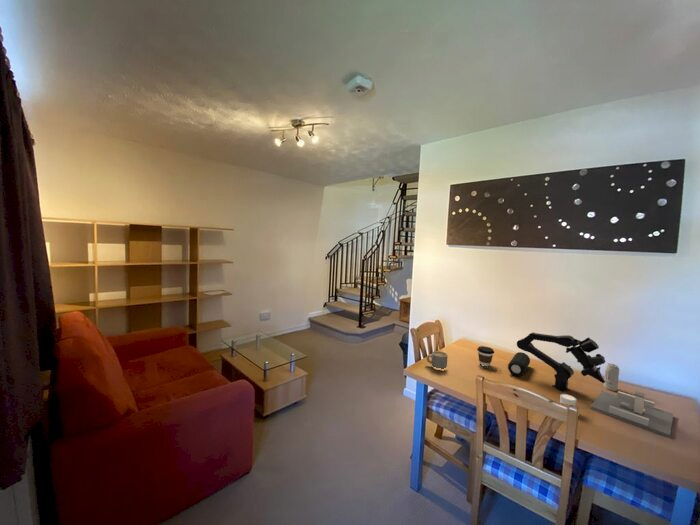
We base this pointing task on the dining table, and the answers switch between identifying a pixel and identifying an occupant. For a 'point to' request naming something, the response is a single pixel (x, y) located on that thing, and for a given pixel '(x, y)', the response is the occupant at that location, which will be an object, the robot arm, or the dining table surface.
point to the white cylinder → (568, 399)
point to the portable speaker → (519, 364)
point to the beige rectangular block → (639, 402)
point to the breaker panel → (624, 411)
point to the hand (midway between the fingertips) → (604, 382)
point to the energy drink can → (611, 377)
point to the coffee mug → (438, 359)
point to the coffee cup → (485, 355)
